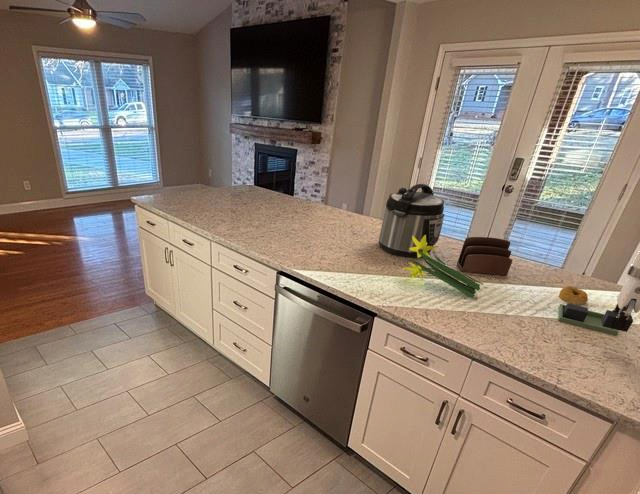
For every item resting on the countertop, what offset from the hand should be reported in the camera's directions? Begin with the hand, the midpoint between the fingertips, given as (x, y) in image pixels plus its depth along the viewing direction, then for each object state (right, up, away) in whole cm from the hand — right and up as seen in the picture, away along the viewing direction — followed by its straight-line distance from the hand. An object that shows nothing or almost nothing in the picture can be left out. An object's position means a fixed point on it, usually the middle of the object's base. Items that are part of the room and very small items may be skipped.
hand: (614, 324), depth 135 cm
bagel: (+11, +12, +33) cm, 37 cm away
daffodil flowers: (-40, +20, +41) cm, 60 cm away
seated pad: (+1, +4, +19) cm, 20 cm away
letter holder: (-12, +29, +58) cm, 66 cm away
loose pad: (0, 0, 0) cm, 0 cm away
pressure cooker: (-41, +44, +77) cm, 98 cm away
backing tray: (+4, +2, +18) cm, 18 cm away
